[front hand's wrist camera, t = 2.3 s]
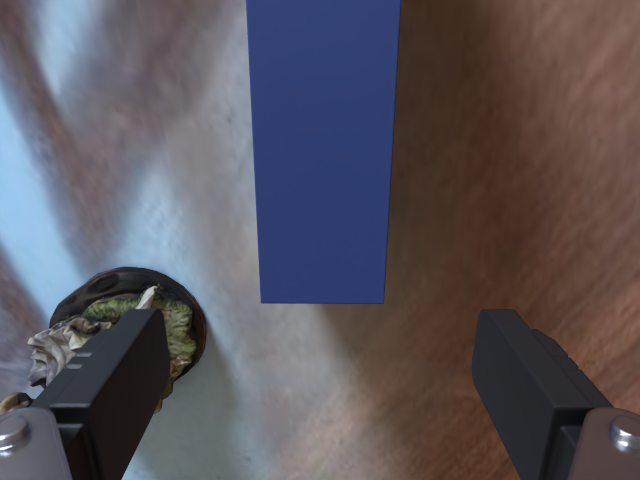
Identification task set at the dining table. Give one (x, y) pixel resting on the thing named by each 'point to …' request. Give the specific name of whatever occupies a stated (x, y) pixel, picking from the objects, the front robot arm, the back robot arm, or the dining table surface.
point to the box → (323, 145)
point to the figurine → (104, 312)
